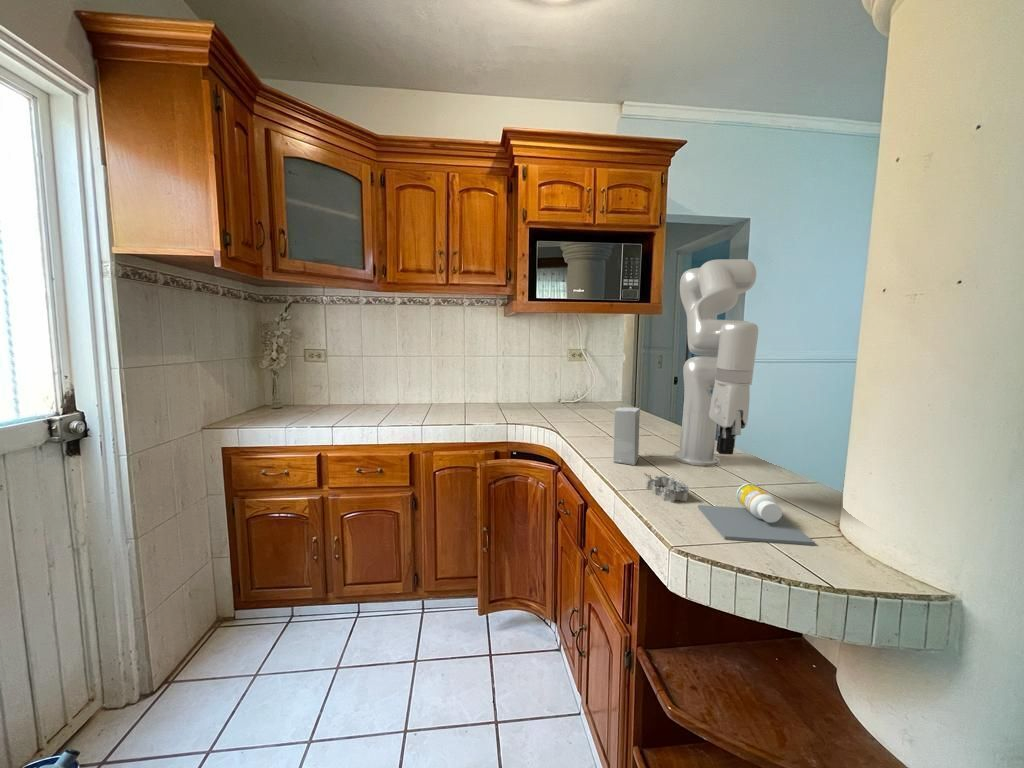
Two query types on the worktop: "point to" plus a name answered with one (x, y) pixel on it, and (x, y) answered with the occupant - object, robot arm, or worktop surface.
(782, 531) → the mat
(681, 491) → the egg carton
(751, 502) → the supplement bottle
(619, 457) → the skincare box
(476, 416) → the worktop surface
